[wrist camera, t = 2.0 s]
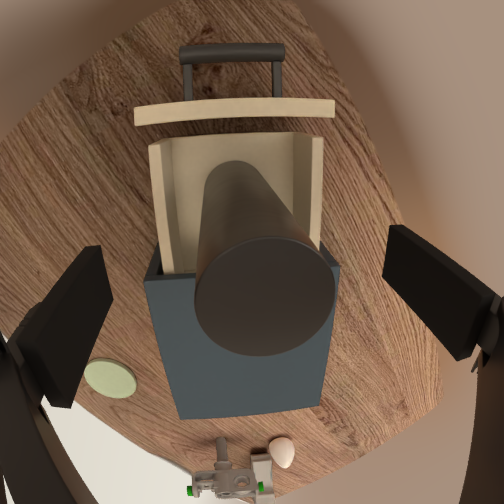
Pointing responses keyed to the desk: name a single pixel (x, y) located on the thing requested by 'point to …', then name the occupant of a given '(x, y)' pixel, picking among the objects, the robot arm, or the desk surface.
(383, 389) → the desk surface
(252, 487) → the mechanical component
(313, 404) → the cabinet
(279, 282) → the dark brown cylinder
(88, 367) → the coaster
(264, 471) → the toy gun
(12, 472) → the robot arm
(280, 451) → the egg
